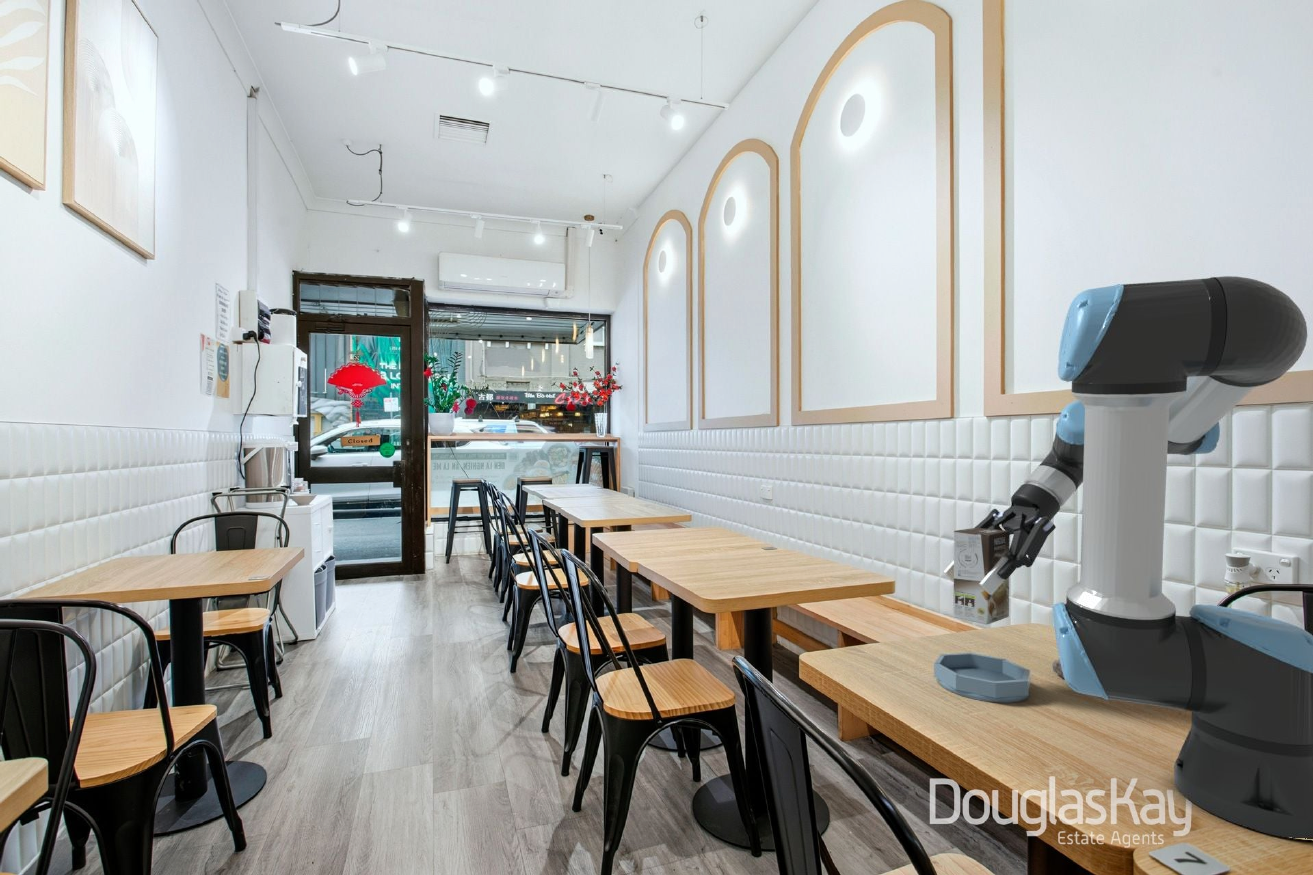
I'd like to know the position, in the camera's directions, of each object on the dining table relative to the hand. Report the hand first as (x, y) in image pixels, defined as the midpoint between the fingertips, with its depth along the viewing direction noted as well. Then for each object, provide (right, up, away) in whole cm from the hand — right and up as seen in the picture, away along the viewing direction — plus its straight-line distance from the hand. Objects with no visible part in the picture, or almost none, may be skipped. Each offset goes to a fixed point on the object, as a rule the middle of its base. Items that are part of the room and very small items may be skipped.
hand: (966, 583), depth 115 cm
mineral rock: (+25, -20, +6) cm, 32 cm away
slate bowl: (+3, -19, 0) cm, 19 cm away
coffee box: (+3, -7, 0) cm, 7 cm away
